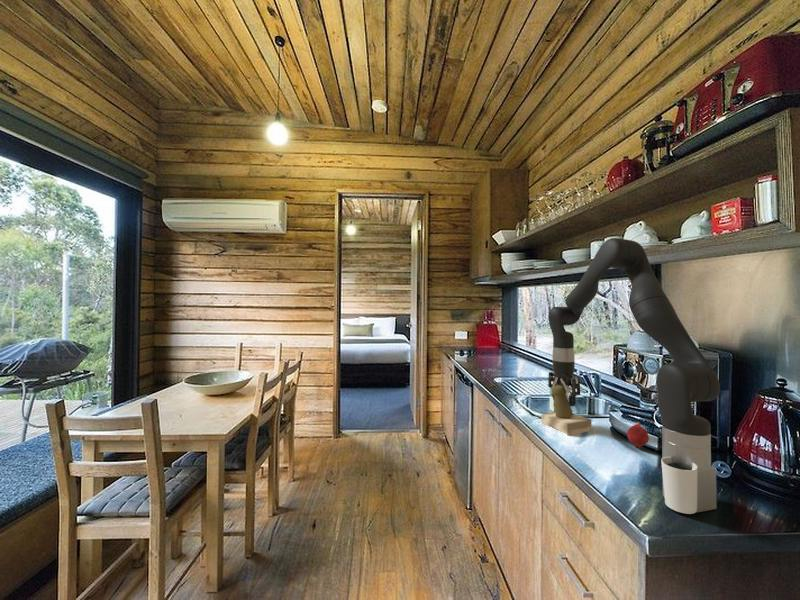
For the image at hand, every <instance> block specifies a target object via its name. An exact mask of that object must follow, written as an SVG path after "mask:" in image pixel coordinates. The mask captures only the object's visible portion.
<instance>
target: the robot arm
mask: <svg viewBox="0 0 800 600" xmlns="http://www.w3.org/2000/svg"><path fill="white" fill-rule="evenodd" d="M609 269H617V270H622V271H624V272H625V274H626V276H627V277H628V279H629V281H630V284H631V290H630V294H629V299H628V307H629V309H630V311H631V313H632V316H633V318H634V319H635V322H636V324H637V325H638V327H639V328H640V329H641V330H642V331H643V332H644V333H645V334H646V335H647V336H648V337H650V338H651V339H652V340H653V341H655V342H656V343H658V344H659V345H660V346H661V347H662V348H664V350H665V351H667V353H668V354H669V356H671V358H672V359H673V361H674V363H673V362H671V363H670V362H669V363H665V364H663V365H662V366H660V368H659V370H658V371H657V374H656V375H657V376H656V393H657V402H658V403H657V404H658V405H657V408H658V412H659V416H660V418H661V424H662V425H661V430H662V431H661V448H662V449H661V450H662V451H661V452H662V453H661V454H662V455H661V456H662V458H664V457H671V463H672V464H674V463H677V464H679V465H680V466H681V467H685V468H690V469H692V463H694V464H696V465H697V468H698V469H697V512H696V513H701V512H707V511H712V510H717V469H716V467H714V466H712V451H711V450H712V449H711V448H712V447H711V446H712V443H711V441H712V435H711V434H712V433H711V431H712V430H711V429H712V428H711V427H712V426H711V423H710V421H709V420H708V419H706V418H705V417H701V416H700V415H696V414H694V413H693V410H692V409H693V408H692V403H695V402H696V403H699V402H711V401H714V400H716V399H717V398H718V397H719V395H720V393H721V392H720V391H721V384H720V381H719V377H718V375H717V372H716V371H715V370H714V368H713V367H712V366H711V364H710V363H709V362H708V360H707V359H706V358H705V356H704V355H703V354H702V352H701V351H700V349H699V348H698V347H697V345H696V344H695V342H694V341H693V340H692V338H691V336H690V334H689V333H688V331H687V329H686V328H685V326H684V324H683V323H682V321H681V319H680V318H679V316H678V314H677V312H676V310H675V308H674V306H673V305H672V303H671V301H670V299H669V298H668V296H667V294H666V293H665V291H664V289H663V288H662V286H661V284H660V282H659V280H658V278H657V277H656V275H655V273H654V271H653V268H652V266H651V264H650V262H649V259H648V256H647V253H646V251H645V249H644V248H643V246H642V245H641V244H640V243H639V242H638V241H635V240H631V239H624V238H619V237H611V238H609V239H606V240H605V241H604V242H603V243H602V245H601V246H600V247H599V249H598V250H597V251H596V254H595V255H594V257H593V258H592V260H591V262H590V264H589V266H588V268H587V269H586V270H585V272H584V274H583V276H582V277H581V279H580V280H579V282H578V283H577V284H576V286H575V287H574V288H573V289H572V290H571V291H570V293H569V294H568V295H567V296H566V298H565V301H564V302H565V306H554V307H551V309H550V310H549V312H548V314H547V316H548V323H549V327H550V329H551V333H552V337H553V338H552V341H553V342H552V344H553V345H552V371H551V372H550V371H549V372H548V384H547V386H548V388H550V387H551V389H552V387H553V386H556V385H560V386H562V387H564V388H565V390H567V392H568V402H569V406H570V407H575V406H576V403H577V402H576V399H577V396H581V379H580V378H579V377H574V376H573V374H575V372H576V371H575V370H576V369H575V366H576V365H575V362H576V361H575V355H576V354H575V348H574V347H575V345H574V343H575V339H574V334H573V333H572V332H570V331H566V328H565V326H572V325H575V324H576V323H577V322H578V321H579V320H580V318H581V316H582V314H583V312H584V310H585V308H586V307H587V306H588V305H589V304H590V303H592V301H593V300H594V299H595V297H596V295H597V293H598V290H599V283H600V280H601V278H602V276H603V274H605V272H607V271H608V270H609ZM552 381H553V384H551V382H552ZM552 395H553V394H552ZM553 400H554V395H553ZM662 458H661V459H662ZM692 470H693V469H692ZM661 475H662V477H663V474H661ZM662 496H663V497H664V498H665V495H664V485H663V484H662Z"/></svg>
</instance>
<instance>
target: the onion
mask: <svg viewBox="0 0 800 600" xmlns="http://www.w3.org/2000/svg"><path fill="white" fill-rule="evenodd" d="M626 433H627V434H626V436H627V439H628V441H629V442H630V443H631V444H632V445H633V446H635V447H636V448H642V447H643V446H645V445H646V444H647V443H649V433H648V431H647V430H646V429H645V428H644V427H643V426H641V422H635V424H634V425H632V426H630V427H629V428H628V429H627V432H626Z"/></svg>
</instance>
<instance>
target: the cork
mask: <svg viewBox="0 0 800 600" xmlns="http://www.w3.org/2000/svg"><path fill="white" fill-rule="evenodd" d="M551 391H552V394H553V395H554V400H555V412H556V417H560V418H565V417H571V416H572V415H573V414H574V413H573V410H572V406H569V398H568V399H567V396H566V390H565V388H564V387H562V386H560V385H556V386H553V387H552V389H551Z"/></svg>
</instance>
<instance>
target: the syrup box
mask: <svg viewBox="0 0 800 600" xmlns="http://www.w3.org/2000/svg"><path fill="white" fill-rule="evenodd" d="M551 384H553V381H552V382H551ZM566 396H567V399H568V400H569V394H568V392H567V390H566ZM549 411H550V413H552V412H555V400H553V395H552V391H551V387H549Z"/></svg>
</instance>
